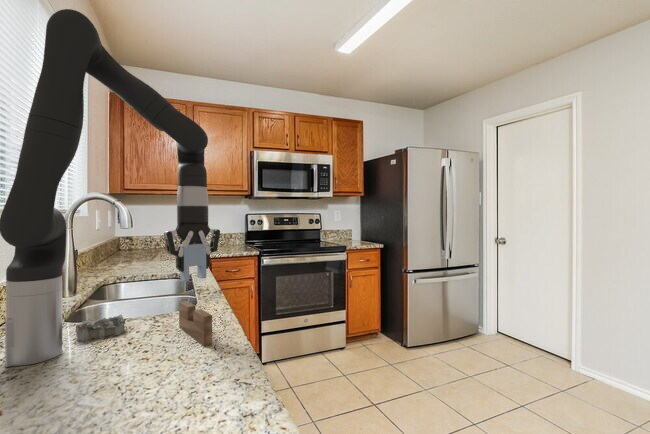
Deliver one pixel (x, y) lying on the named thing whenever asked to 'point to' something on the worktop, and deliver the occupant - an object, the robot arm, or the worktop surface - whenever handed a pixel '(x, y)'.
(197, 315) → the slotted plate
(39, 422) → the worktop surface
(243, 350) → the worktop surface
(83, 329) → the egg carton
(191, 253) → the notched block
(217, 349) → the worktop surface
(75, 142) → the robot arm
